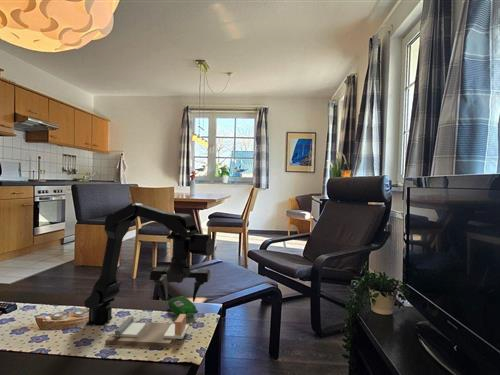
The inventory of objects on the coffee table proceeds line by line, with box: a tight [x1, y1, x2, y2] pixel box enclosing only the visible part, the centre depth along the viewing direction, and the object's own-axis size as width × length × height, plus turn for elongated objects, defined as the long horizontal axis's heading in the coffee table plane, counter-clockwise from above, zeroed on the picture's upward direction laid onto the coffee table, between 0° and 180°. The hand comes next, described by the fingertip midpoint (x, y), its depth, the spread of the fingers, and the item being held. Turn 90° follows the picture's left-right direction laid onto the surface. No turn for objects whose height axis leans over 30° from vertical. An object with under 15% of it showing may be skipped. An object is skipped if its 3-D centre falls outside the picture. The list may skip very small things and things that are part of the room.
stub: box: [164, 314, 190, 340], centre depth 97 cm, size 6×8×5 cm
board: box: [104, 320, 175, 349], centre depth 98 cm, size 20×13×2 cm, turn 88°
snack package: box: [167, 295, 199, 318], centre depth 116 cm, size 7×16×5 cm, turn 34°
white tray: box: [112, 316, 147, 337], centre depth 98 cm, size 8×10×2 cm
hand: (179, 300), depth 97 cm, fingers open, 9 cm apart
